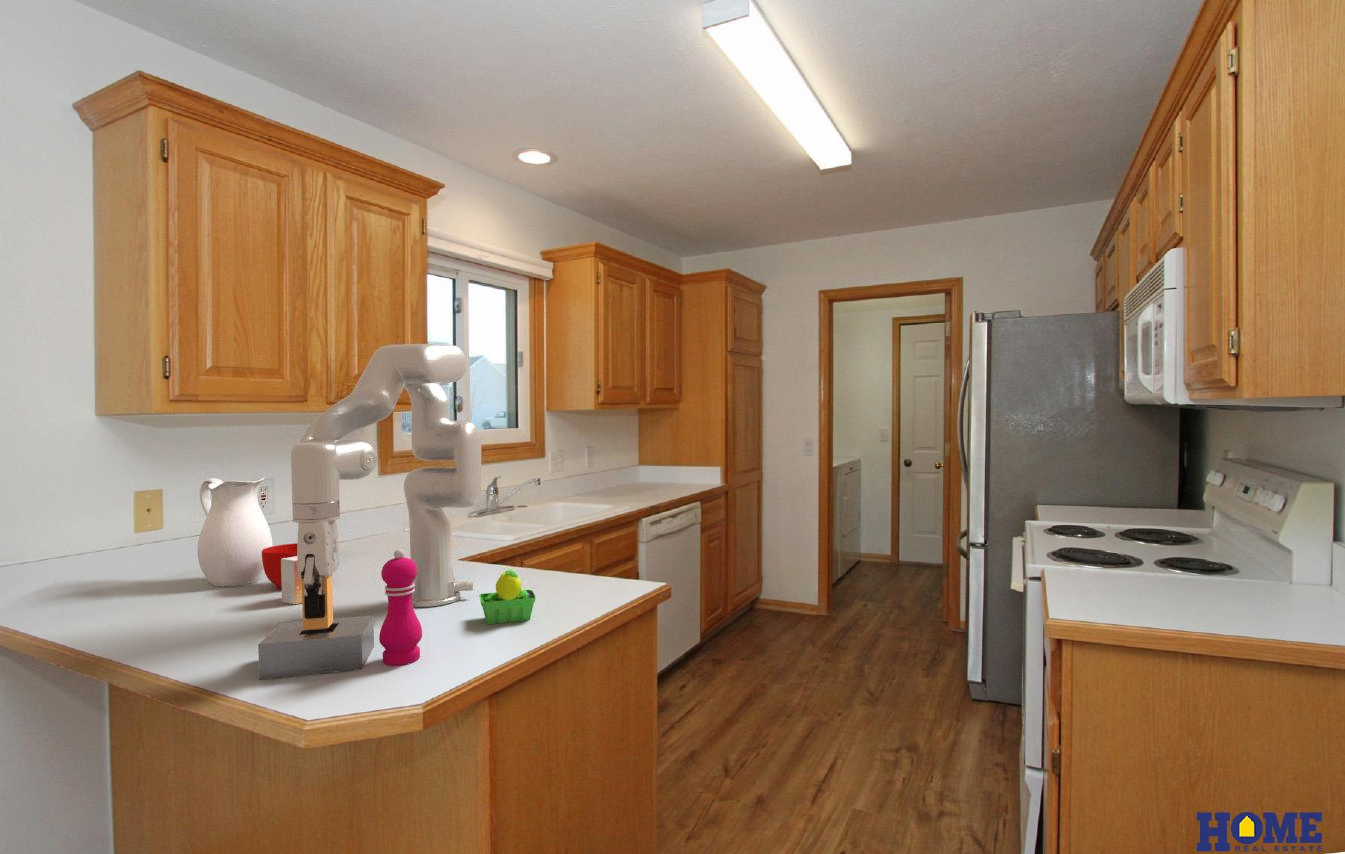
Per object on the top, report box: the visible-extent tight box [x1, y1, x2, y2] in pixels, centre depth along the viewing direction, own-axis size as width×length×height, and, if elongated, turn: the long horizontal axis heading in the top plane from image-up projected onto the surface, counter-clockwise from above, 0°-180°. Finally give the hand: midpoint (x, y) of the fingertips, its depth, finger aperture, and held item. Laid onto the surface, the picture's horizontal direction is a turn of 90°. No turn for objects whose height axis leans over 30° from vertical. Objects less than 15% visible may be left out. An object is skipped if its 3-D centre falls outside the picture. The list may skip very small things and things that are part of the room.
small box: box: [281, 556, 302, 606], centre depth 164 cm, size 8×6×10 cm
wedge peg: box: [301, 567, 334, 630], centre depth 122 cm, size 4×4×11 cm
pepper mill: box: [378, 548, 423, 667], centre depth 123 cm, size 7×7×20 cm
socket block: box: [257, 615, 375, 681], centre depth 123 cm, size 16×12×6 cm
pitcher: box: [197, 477, 273, 587], centre depth 185 cm, size 24×17×28 cm
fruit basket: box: [478, 569, 537, 625], centre depth 146 cm, size 11×9×11 cm
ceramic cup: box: [262, 542, 298, 590], centre depth 179 cm, size 13×17×10 cm
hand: (318, 612), depth 122 cm, fingers closed on wedge peg, 4 cm apart
